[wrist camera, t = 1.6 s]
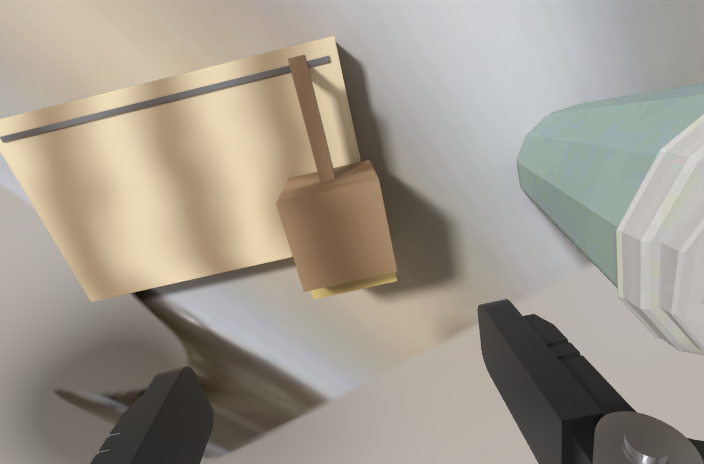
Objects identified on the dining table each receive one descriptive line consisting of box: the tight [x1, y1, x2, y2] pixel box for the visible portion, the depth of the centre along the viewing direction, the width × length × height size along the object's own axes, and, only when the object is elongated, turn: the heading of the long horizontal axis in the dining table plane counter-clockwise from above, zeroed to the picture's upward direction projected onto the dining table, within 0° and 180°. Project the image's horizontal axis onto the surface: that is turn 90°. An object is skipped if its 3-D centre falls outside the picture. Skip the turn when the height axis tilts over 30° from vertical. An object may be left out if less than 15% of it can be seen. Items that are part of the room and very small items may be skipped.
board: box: [0, 36, 361, 302], centre depth 22 cm, size 20×12×2 cm, turn 103°
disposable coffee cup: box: [517, 83, 704, 355], centre depth 17 cm, size 11×11×15 cm
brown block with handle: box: [276, 55, 397, 299], centre depth 20 cm, size 5×13×7 cm, turn 13°
